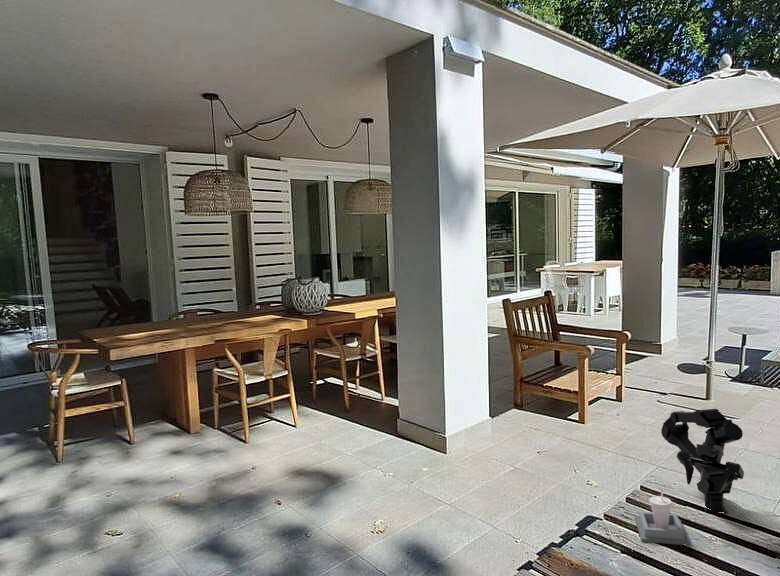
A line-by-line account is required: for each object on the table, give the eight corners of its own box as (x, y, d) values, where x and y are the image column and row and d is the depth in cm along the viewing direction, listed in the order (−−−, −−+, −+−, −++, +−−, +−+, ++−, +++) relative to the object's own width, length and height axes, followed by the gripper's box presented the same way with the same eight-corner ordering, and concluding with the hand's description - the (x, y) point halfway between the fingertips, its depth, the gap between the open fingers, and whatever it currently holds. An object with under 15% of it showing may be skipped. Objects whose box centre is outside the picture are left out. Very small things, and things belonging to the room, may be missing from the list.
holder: (634, 518, 181) (634, 509, 181) (680, 522, 177) (679, 512, 177) (641, 541, 168) (641, 531, 168) (690, 545, 164) (690, 534, 163)
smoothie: (670, 536, 168) (668, 493, 167) (648, 530, 172) (646, 489, 171) (674, 526, 173) (672, 485, 172) (653, 521, 177) (651, 481, 176)
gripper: (677, 427, 181) (665, 469, 175) (740, 440, 167) (729, 486, 161) (687, 442, 187) (676, 483, 181) (748, 456, 173) (738, 501, 166)
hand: (703, 488), depth 172 cm, fingers open, 9 cm apart
